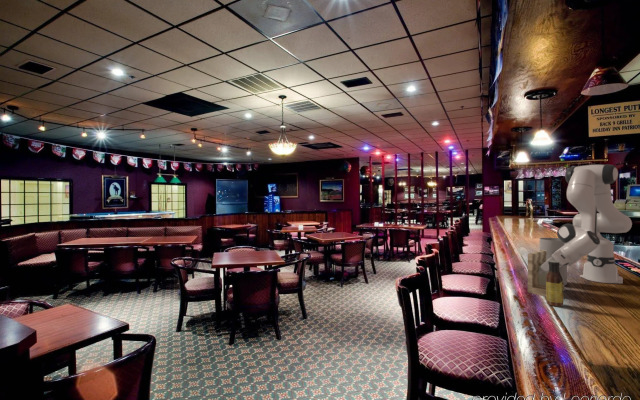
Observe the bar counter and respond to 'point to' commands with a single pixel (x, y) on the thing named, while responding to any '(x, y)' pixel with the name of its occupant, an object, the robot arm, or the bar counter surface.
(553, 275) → the sauce bottle
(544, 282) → the beige block
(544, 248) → the cylinder vase
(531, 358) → the bar counter surface
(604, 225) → the robot arm
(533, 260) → the back board shelf
